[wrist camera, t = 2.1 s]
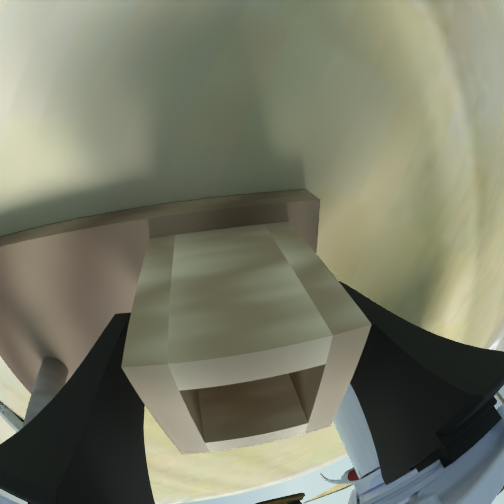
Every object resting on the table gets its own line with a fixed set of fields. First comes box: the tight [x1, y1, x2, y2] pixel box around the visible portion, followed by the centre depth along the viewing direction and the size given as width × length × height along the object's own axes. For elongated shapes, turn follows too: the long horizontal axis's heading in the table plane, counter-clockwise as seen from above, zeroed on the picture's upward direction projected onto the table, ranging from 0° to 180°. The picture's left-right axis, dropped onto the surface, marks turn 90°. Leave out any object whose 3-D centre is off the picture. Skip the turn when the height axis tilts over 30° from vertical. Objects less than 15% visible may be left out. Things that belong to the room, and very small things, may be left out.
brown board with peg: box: [0, 190, 320, 427], centre depth 10 cm, size 20×12×7 cm, turn 92°
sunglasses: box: [320, 467, 360, 484], centre depth 45 cm, size 17×17×5 cm
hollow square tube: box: [121, 221, 372, 454], centre depth 9 cm, size 5×5×6 cm
